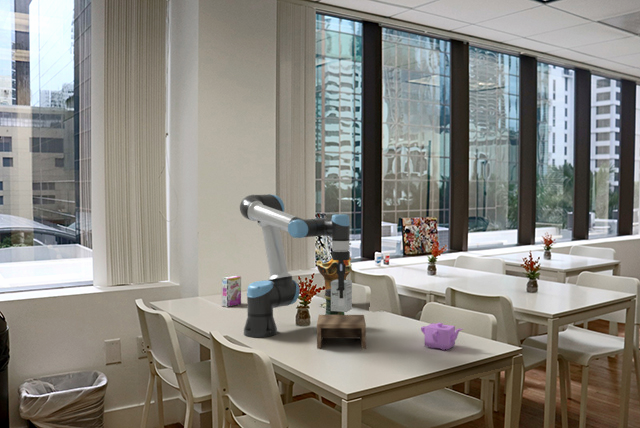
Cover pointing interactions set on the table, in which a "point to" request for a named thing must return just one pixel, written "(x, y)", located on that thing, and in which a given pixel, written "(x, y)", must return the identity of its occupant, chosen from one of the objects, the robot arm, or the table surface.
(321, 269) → the decorative vase
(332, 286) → the supplement box
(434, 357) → the table surface
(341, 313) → the coffee jar
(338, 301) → the robot arm
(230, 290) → the candy bar box
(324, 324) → the walnut shelf
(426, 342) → the teapot
